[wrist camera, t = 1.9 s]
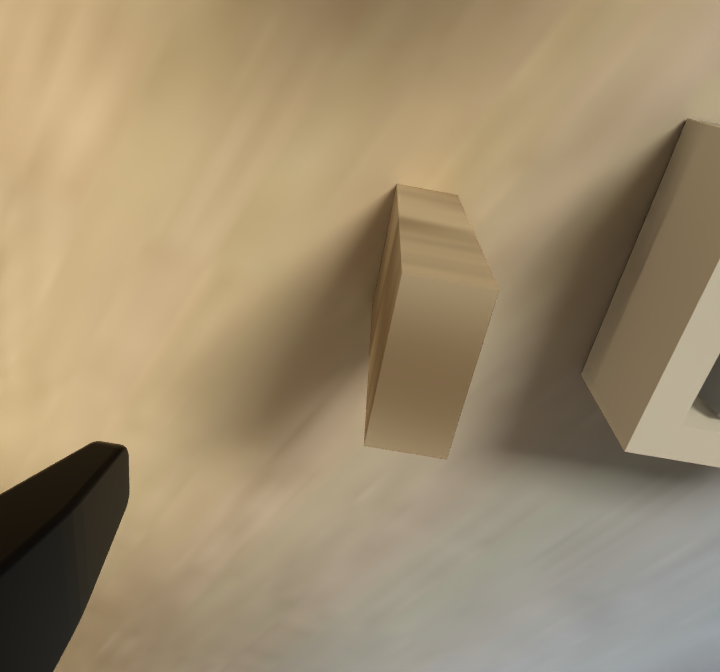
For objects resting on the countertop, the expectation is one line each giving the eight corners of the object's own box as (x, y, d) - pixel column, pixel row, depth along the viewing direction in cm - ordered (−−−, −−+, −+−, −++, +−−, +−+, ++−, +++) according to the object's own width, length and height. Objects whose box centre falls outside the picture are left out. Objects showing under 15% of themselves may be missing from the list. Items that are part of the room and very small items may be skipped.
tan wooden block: (426, 317, 18) (446, 459, 12) (372, 307, 18) (363, 445, 12) (457, 195, 17) (498, 290, 10) (396, 184, 16) (402, 272, 10)
